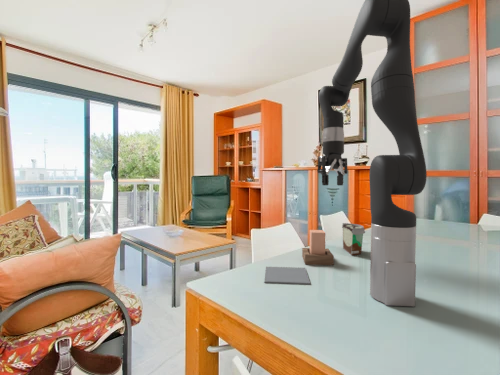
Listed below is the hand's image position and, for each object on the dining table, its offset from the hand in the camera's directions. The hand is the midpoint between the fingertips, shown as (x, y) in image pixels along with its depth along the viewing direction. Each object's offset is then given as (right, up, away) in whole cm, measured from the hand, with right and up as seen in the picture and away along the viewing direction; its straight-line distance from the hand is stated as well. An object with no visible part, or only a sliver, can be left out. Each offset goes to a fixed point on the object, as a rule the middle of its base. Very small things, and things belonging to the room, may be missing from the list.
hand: (332, 185), depth 99 cm
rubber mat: (-20, -26, -22) cm, 39 cm away
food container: (+9, -25, +3) cm, 27 cm away
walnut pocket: (-8, -26, -8) cm, 28 cm away
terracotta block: (-8, -26, -8) cm, 28 cm away
